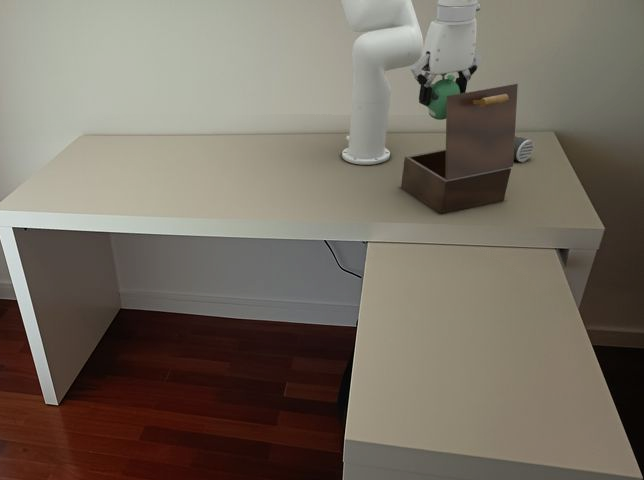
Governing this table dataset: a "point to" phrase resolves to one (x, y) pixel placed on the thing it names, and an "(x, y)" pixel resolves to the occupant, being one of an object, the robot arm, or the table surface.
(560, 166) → the table surface
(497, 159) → the lid
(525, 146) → the flashlight
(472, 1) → the robot arm
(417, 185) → the chest
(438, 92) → the alien toy
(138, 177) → the table surface
